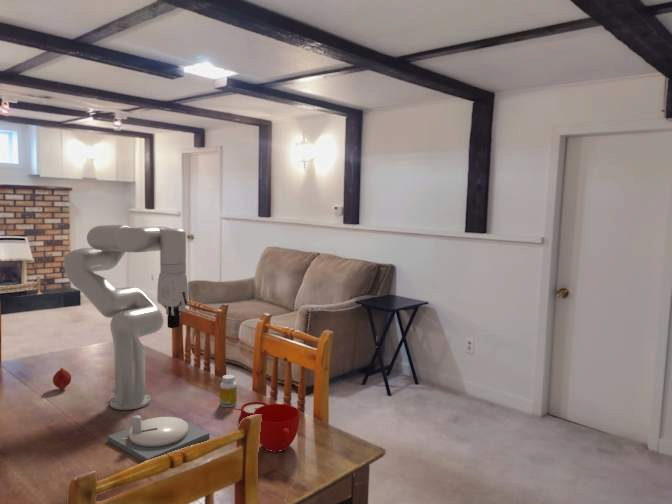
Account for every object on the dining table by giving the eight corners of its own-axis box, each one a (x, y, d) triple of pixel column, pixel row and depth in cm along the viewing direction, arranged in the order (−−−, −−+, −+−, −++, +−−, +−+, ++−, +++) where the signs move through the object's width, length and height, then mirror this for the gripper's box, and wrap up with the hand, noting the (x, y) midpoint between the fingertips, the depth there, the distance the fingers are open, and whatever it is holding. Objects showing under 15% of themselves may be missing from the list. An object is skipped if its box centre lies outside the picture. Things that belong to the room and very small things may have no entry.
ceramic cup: (264, 468, 137) (264, 431, 136) (247, 440, 152) (248, 407, 151) (310, 459, 142) (311, 424, 141) (290, 433, 158) (291, 401, 157)
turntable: (133, 451, 140) (133, 429, 140) (125, 427, 154) (125, 407, 154) (193, 439, 148) (193, 419, 147) (181, 417, 162) (181, 399, 161)
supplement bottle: (232, 408, 175) (232, 380, 174) (217, 406, 176) (217, 378, 175) (238, 402, 180) (239, 374, 179) (224, 400, 181) (224, 373, 180)
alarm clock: (254, 398, 175) (285, 401, 165) (257, 417, 174) (288, 421, 165) (229, 407, 167) (260, 410, 157) (232, 427, 166) (263, 431, 157)
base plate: (107, 441, 150) (107, 435, 150) (168, 418, 165) (168, 413, 165) (147, 464, 138) (147, 458, 137) (209, 437, 153) (209, 432, 153)
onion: (49, 390, 186) (48, 368, 185) (63, 385, 191) (62, 364, 190) (61, 393, 184) (60, 371, 183) (75, 388, 189) (74, 366, 188)
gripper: (148, 267, 164) (149, 325, 166) (177, 272, 155) (177, 333, 156) (169, 265, 170) (169, 321, 171) (198, 270, 160) (198, 329, 162)
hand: (173, 327), depth 164 cm, fingers closed
